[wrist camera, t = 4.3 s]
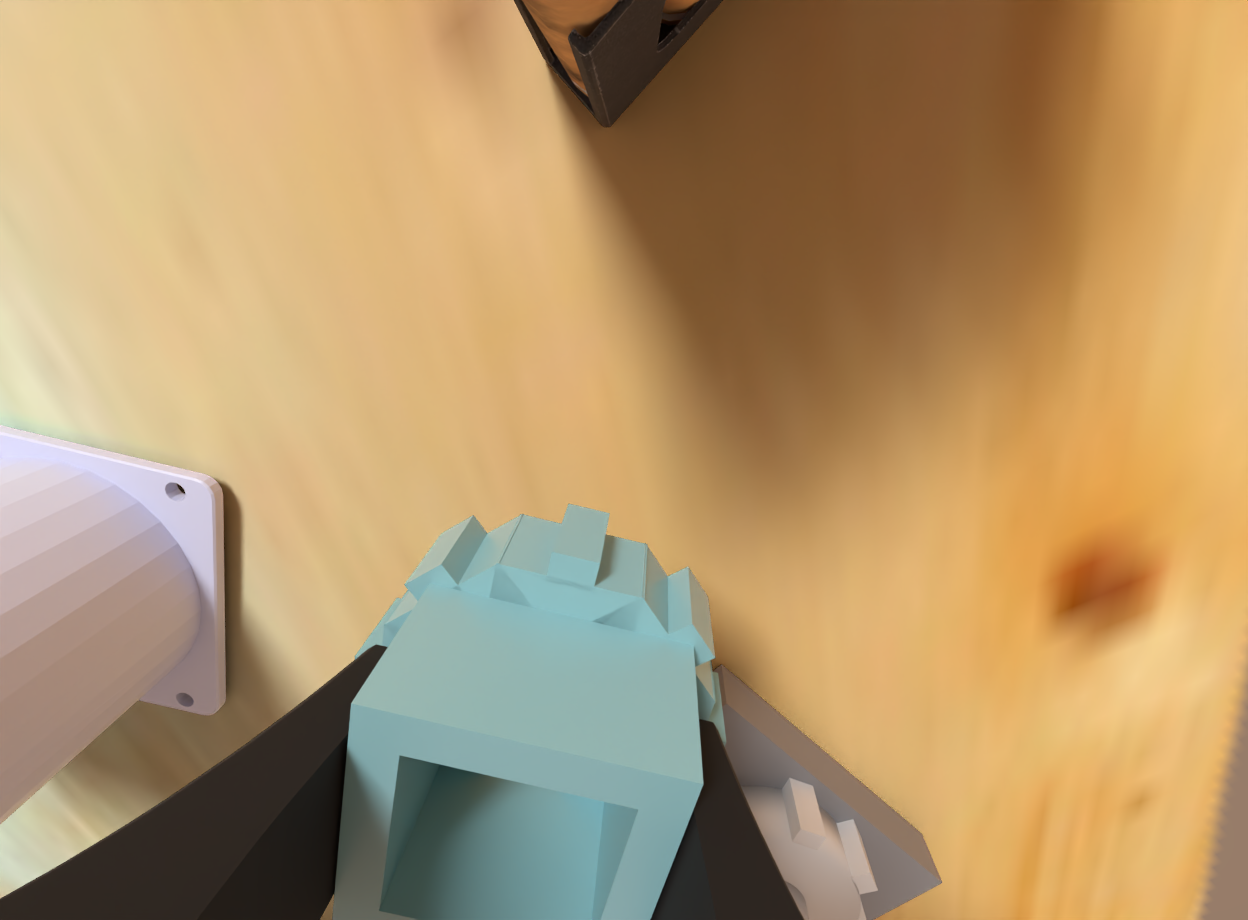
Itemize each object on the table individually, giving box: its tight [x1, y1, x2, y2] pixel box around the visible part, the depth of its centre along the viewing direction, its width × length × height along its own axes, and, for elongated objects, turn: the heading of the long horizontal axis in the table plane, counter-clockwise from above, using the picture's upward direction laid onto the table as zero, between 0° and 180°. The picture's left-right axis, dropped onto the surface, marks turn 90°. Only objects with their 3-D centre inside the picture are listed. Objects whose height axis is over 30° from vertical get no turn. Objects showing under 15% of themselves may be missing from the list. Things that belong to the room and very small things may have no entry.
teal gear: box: [332, 504, 726, 920], centre depth 9 cm, size 6×6×4 cm
